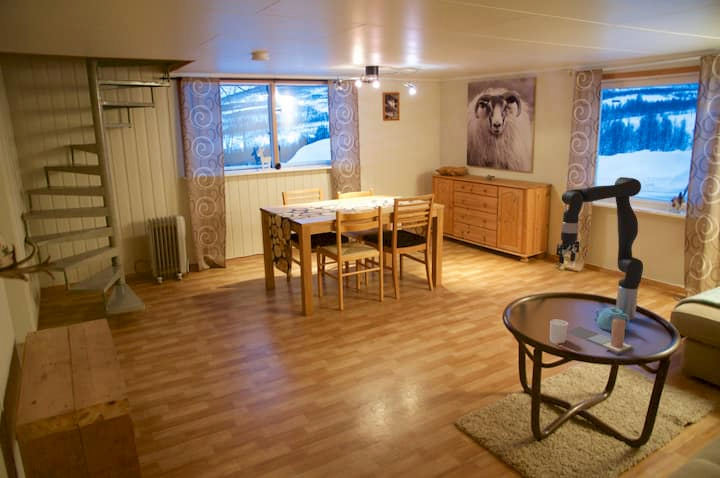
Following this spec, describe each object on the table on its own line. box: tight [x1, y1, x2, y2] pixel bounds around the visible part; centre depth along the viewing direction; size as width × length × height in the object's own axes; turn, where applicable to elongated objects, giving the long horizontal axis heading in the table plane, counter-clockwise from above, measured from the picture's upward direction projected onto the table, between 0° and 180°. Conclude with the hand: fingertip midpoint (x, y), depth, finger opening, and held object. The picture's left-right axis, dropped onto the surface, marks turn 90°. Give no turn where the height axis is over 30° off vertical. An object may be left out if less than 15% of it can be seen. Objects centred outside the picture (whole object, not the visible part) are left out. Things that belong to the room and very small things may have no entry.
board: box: [567, 326, 634, 356], centre depth 239 cm, size 12×28×2 cm, turn 31°
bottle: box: [610, 318, 627, 348], centre depth 229 cm, size 5×5×12 cm
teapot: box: [593, 306, 631, 332], centre depth 251 cm, size 20×17×12 cm
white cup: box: [549, 318, 569, 345], centre depth 237 cm, size 8×8×10 cm
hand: (566, 262), depth 253 cm, fingers open, 8 cm apart
